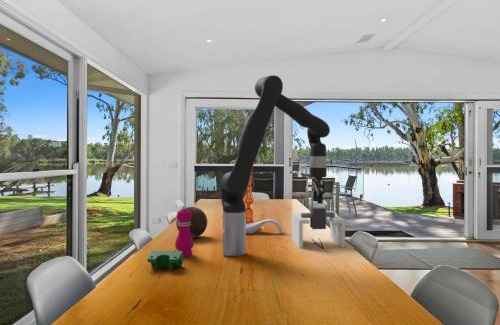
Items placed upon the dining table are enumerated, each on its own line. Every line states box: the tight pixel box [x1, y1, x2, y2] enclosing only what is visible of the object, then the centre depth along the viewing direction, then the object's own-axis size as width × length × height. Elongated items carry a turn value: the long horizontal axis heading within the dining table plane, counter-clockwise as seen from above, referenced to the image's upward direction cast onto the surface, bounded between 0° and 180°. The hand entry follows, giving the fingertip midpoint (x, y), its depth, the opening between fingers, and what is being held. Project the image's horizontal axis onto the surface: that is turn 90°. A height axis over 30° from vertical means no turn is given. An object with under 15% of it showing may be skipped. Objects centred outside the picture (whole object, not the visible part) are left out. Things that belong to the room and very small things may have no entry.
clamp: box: [147, 250, 184, 272], centre depth 137 cm, size 12×6×9 cm, turn 80°
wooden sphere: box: [175, 206, 208, 239], centre depth 189 cm, size 15×15×15 cm
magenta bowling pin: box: [174, 205, 195, 258], centre depth 155 cm, size 7×7×20 cm
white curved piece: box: [246, 218, 283, 235], centre depth 201 cm, size 24×12×7 cm, turn 82°
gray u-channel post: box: [309, 207, 327, 230], centre depth 176 cm, size 6×5×9 cm
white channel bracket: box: [291, 212, 346, 249], centre depth 177 cm, size 20×18×14 cm
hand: (317, 202), depth 176 cm, fingers open, 8 cm apart
